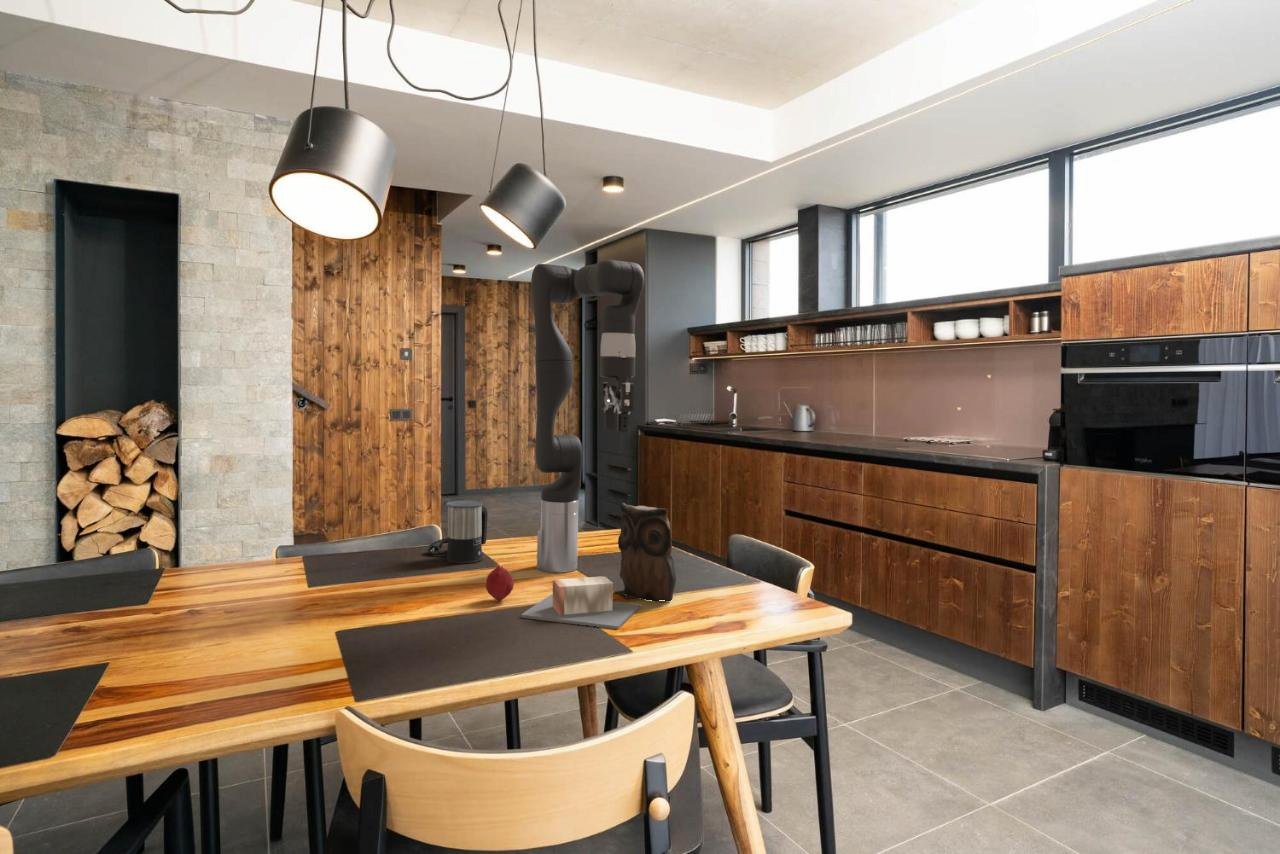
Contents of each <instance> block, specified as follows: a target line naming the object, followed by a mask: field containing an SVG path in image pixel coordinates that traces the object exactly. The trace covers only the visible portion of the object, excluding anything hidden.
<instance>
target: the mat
mask: <svg viewBox="0 0 1280 854" xmlns="http://www.w3.org/2000/svg"><path fill="white" fill-rule="evenodd" d="M552 602H553V593H552V594H549V595H548V596H546V597H545V598H544V599H542V600H540V601H539V602H537V603H536V604H535V605H533V606H531V607H530V608H528V609H527V610H526V611H524V612H523V613H521V615H520V618H522V619H530V620H537V621H548V622H554V623H555V622H556V623H561V624H562V623H563V624H564V623H565V624H570V625H572V624H573V625H578V624H579V625H578V626H586V625H588V626H587V627H594V626H596V628H604V629H605V628H606V629H613V630H619V629H620V628H621V627H623V625H624V624H625V623H626V622H627V621H628V620H629V619H630V618H631V617H632V616H633V615H634V614H635V613H636V612H637V611H638V610H639V609H640V608H641V604H640V603H632V602H631V603H630V602H623V601H614V600H613V607H612V611H601V612H590V613H578V614H567V615H559V614H558V613H557V612H556V611H555V609H554V608H553V607H552Z"/></svg>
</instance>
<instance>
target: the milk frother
mask: <svg viewBox="0 0 1280 854" xmlns="http://www.w3.org/2000/svg"><path fill="white" fill-rule="evenodd" d="M446 506H447V538H441V539H438V540H435V541H433V542H432V543H430V544H429V545H428V546H427V553H429V554H430V555H434V556H445V555H446V558H445V560H446V561H447V562H448V563H453V564H473V563H478V562H480V561H482V560H483V558H484V556H483V548H482V545H485V544H486V543H487V533H488V532H487V531H488V515H489V513H488V510H487V508H486V507H485V505H484V504H483V502H482V501H480V500H471V499H469V500H453V501H448V502H447V503H446ZM445 544H447V549H444V550H441V549H442V547H443V546H444V545H445Z"/></svg>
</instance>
